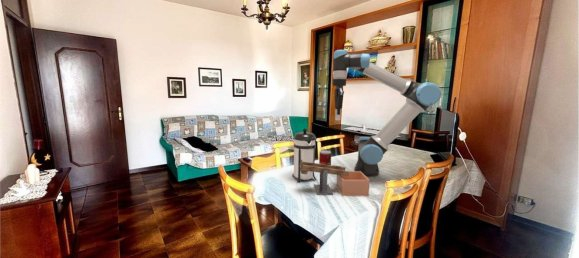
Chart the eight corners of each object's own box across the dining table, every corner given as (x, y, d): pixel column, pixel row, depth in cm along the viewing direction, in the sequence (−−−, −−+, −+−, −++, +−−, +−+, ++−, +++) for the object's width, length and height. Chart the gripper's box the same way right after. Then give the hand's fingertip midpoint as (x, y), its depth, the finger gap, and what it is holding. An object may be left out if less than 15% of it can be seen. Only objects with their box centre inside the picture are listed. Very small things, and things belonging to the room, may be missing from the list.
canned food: (328, 170, 157) (328, 153, 155) (317, 167, 161) (317, 152, 159) (332, 167, 163) (333, 151, 161) (321, 165, 167) (322, 149, 166)
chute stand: (316, 194, 119) (317, 170, 117) (313, 186, 130) (314, 163, 128) (332, 194, 119) (333, 170, 117) (328, 186, 130) (329, 163, 128)
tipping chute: (300, 173, 119) (302, 163, 118) (298, 165, 132) (300, 156, 131) (347, 180, 120) (349, 169, 119) (341, 171, 133) (342, 162, 132)
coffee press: (321, 177, 144) (323, 127, 139) (308, 185, 130) (310, 131, 126) (297, 171, 153) (297, 125, 148) (282, 179, 140) (283, 128, 135)
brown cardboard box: (359, 185, 132) (360, 171, 130) (368, 195, 119) (369, 180, 117) (336, 185, 131) (336, 171, 130) (342, 195, 118) (342, 180, 117)
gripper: (330, 79, 142) (329, 118, 145) (335, 78, 129) (333, 121, 132) (343, 79, 142) (341, 118, 146) (349, 78, 129) (347, 121, 133)
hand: (337, 120), depth 139 cm, fingers closed
